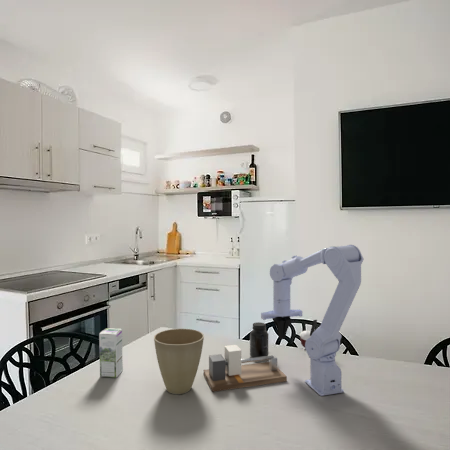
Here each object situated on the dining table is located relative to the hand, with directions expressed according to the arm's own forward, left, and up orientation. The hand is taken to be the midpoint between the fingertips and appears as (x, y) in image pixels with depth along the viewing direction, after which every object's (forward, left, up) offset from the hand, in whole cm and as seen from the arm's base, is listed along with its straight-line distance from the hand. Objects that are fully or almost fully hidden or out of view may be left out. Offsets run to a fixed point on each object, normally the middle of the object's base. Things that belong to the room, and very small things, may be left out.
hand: (281, 338), depth 122 cm
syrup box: (+11, +56, -10) cm, 58 cm away
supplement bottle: (+11, +4, -10) cm, 15 cm away
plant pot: (-5, +36, -10) cm, 38 cm away
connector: (-4, +24, -8) cm, 26 cm away
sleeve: (-4, +19, -7) cm, 21 cm away
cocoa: (+14, -18, -10) cm, 25 cm away
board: (-4, +15, -10) cm, 18 cm away
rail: (-4, +14, -8) cm, 17 cm away
